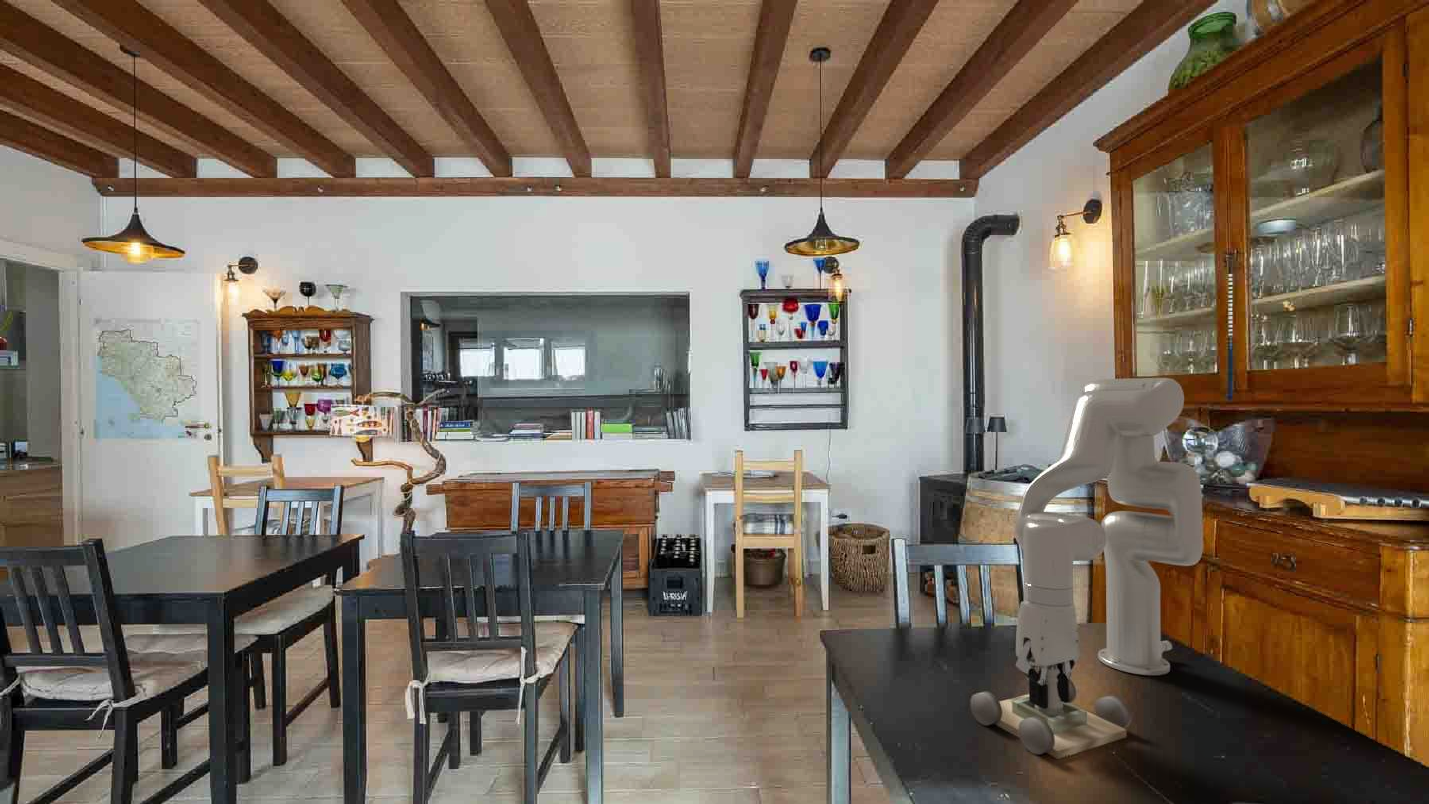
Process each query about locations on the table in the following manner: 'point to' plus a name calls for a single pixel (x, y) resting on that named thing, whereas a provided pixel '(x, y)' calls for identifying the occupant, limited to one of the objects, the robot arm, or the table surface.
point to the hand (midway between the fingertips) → (1049, 701)
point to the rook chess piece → (1052, 693)
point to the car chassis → (1055, 722)
